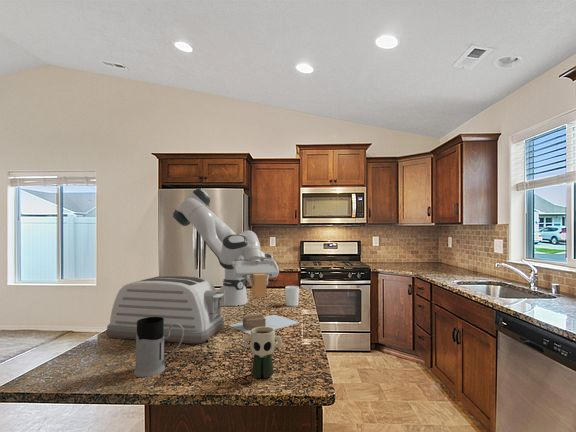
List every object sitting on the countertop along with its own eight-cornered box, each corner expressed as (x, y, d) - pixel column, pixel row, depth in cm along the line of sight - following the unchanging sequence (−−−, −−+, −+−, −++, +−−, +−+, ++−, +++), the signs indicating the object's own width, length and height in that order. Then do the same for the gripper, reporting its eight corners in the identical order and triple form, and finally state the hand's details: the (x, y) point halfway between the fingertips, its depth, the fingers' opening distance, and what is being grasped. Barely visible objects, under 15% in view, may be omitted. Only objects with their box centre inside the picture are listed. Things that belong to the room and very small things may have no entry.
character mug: (242, 381, 90) (242, 334, 91) (245, 370, 97) (245, 326, 98) (281, 380, 90) (281, 333, 91) (281, 369, 97) (281, 326, 98)
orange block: (251, 294, 140) (252, 273, 140) (262, 294, 142) (263, 273, 142) (254, 296, 135) (255, 275, 136) (266, 296, 137) (266, 274, 137)
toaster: (208, 346, 117) (208, 284, 118) (101, 338, 126) (103, 281, 127) (231, 328, 139) (231, 276, 140) (139, 322, 148) (140, 273, 149)
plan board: (228, 327, 139) (228, 325, 139) (274, 316, 157) (274, 314, 157) (253, 338, 126) (253, 335, 126) (300, 324, 143) (300, 322, 143)
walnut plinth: (242, 325, 140) (242, 315, 140) (260, 323, 142) (260, 314, 143) (246, 330, 132) (246, 320, 132) (265, 328, 135) (265, 318, 135)
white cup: (293, 307, 176) (293, 288, 176) (282, 305, 180) (282, 287, 181) (302, 304, 182) (301, 286, 182) (290, 302, 187) (290, 285, 187)
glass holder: (140, 364, 101) (141, 316, 102) (186, 363, 102) (187, 315, 103) (128, 377, 93) (129, 324, 93) (179, 375, 94) (179, 323, 94)
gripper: (232, 255, 142) (236, 280, 132) (276, 255, 150) (283, 279, 140) (230, 264, 146) (234, 289, 136) (272, 263, 153) (279, 288, 144)
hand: (259, 284), depth 138 cm, fingers closed on orange block, 5 cm apart
